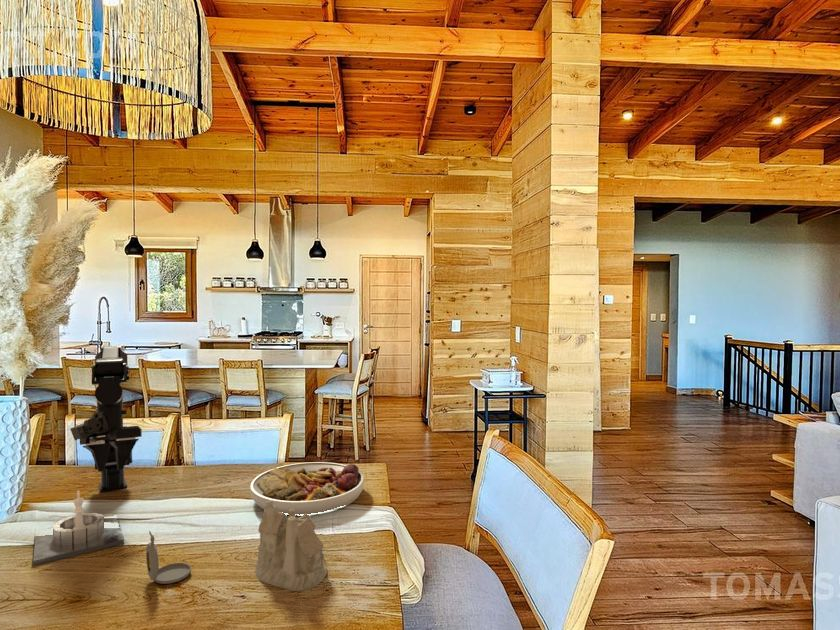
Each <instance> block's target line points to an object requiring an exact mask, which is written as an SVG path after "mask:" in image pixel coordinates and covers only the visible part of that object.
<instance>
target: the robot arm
mask: <svg viewBox="0 0 840 630" xmlns="http://www.w3.org/2000/svg"><path fill="white" fill-rule="evenodd" d="M129 380H130V367H129V366H128V354H127V353H126V352H124V351H123V350H122V347H121V345H117V344H116V345H103V346H100V351H99V352H98V353H97V354H95V356H94V364H92V365H91V385H92V386H96V385H97V387H96V388H95V390H94V396H95V399H96V413H95V412H94V413H93V414H92V415H91V417H90V418H89V419H86V420H84V421H83V422H81V423H80V424H77V425H75V426H73V427H70V430H69V431H70V432H71V435H72V437H73V440H74V441H78V440H79V446H81V445H82V448H83V449H84V448H85V449H86V450H88V451H89V452H90V453H91V456H92V457H93V460H94V469H95V470H97V471H98V472H99V473H100V483H98V487H99V491H100V492H107V491H108V492H109V491H113V490H120V489H124V488H127V487H128V484H127V481H126V479H125V466H130V464H132V463H133V449H134V448H135V445H136V443H137V442H139V441H140V440H139V438H140V437H143V433H142V432H143V431H142V428H141V427H140V426H139V425H132V426H131V425H129V426H127V425H126V426H124V415H127V410H126V409H124V407H123V406H124V404H123V403H124V396H123V394H124V393H123V392H124V391H123V390H124V389H123V388H122V386H121V385H122V384H127V383H128V381H129Z"/></svg>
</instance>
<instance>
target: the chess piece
mask: <svg viewBox="0 0 840 630" xmlns="http://www.w3.org/2000/svg"><path fill="white" fill-rule="evenodd" d="M80 496H81V492H80V490H77V492H76V498H74V499H73V500H72V502H73V504H74V507H75V508H74V509H73V511H72V512H73V513H76V514H75V515H76V522H75V527H74V528H73V529H76V528H81V527H85V525H84V524H83V519H82V514H83V511H85V510H86V509H85V507H82V506H83V503H84V501H85V498H84V497H80Z"/></svg>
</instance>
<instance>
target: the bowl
mask: <svg viewBox="0 0 840 630" xmlns="http://www.w3.org/2000/svg"><path fill="white" fill-rule="evenodd" d="M364 483H365V477H364V475H363V473H362V471H361V470H359V467H358V466H357V465H356V464H353V463H350V464H347V465H346V464H342V463H337V462H326V461H314V462H311V461H310V462H298V463H290V464H286V465H282V466H278V467H274V468H271V469H268V470H266V471H264V472H262V473H260V474H258V475H257V476H255V478H254V479H253V480H252V481H251V483H250V488H249V489H250V495H251V498H252V499H253V502H254V503H255V504H256V505H257V506H258V507H259V508H261V509H262V510H264V509H265V510H266V509H267V501H269V500H272V501H273V506H276V509H277V512H283V513H288V514H289V510H290V509H294V510H295V514H299V515H300V514H311V513H318V512H324V511H327V510H331V509H334V508H337V507H340V506H344V505H347V506H349V505H350V504H352V503H353V502H354V501H356V499H358V498H359V496H360V494H361V493H362V491H363V489H364Z"/></svg>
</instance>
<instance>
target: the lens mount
mask: <svg viewBox="0 0 840 630" xmlns="http://www.w3.org/2000/svg"><path fill="white" fill-rule="evenodd" d="M82 519H83V524H84V525H85V527H81V528H76V529H73V528H74V527H75V522H76V514H73V515H70V516H67V517H65V518H62V519H60V520H58V521H57V522H55V523H54V524H53V525H52V527H53V535H45V536H35V538H34V548H33V564H32V566H37V565H42V564H45V563H50V562H55V561H58V560H63V559H67V558H71V557H74V556H80V555H83V554H87V553H88V554H89V553H92V552H97V551H100V550H101V551H102V550H105V549H109V548H112V547H113V548H114V547H118V546H121V545H124V544H125V538H124V534H123V531H122V528H104V522H111V523H114V522H119V523H120V520H116V519H104V515H103V514H101V513H99V512H85V513H83V512H82Z"/></svg>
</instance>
